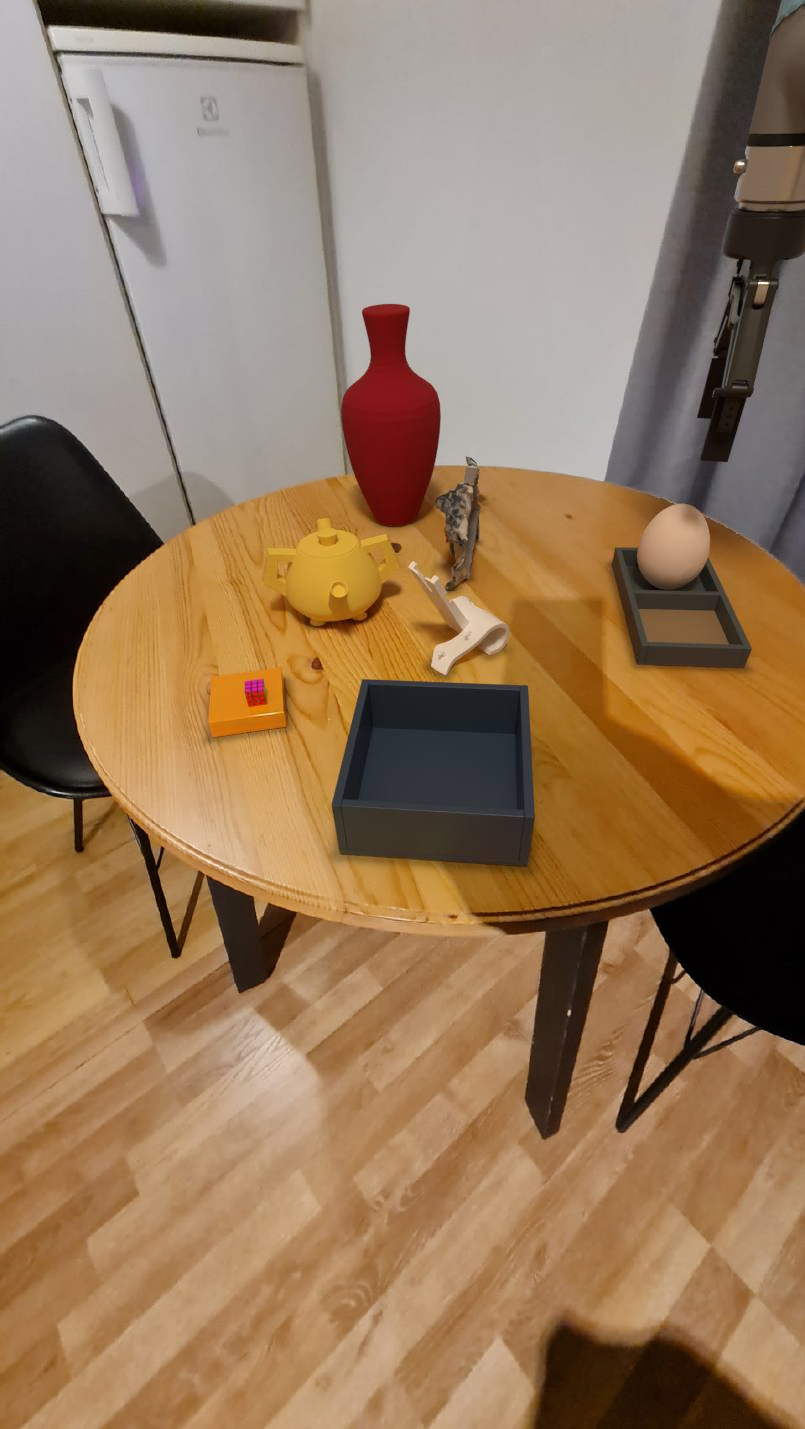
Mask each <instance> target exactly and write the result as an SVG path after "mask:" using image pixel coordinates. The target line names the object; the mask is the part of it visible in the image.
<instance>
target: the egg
mask: <svg viewBox="0 0 805 1429" xmlns="http://www.w3.org/2000/svg"><path fill="white" fill-rule="evenodd" d="M708 525H709V524H708V523H707V520H706V518H705V516H704V514H702V512H701V511H700V510H699V509H697V508H696V507H695V506H694V505H691V504H687V503H675V504H672V505H670V506H668V507H666V508H665V509H662V510H660V512H659V513H657V514H656V515H655V516H654V517H653V518H652V519H651V521H650V522H649V524H647V526H646V527H645V529H644V531H643V532H642V535H641V536H640V539H639V543H638V546H637V548H638V552H637V562H638V566H639V569H640V572H641V573H642V575H643V576H644V578H645V579H646V580H647V581H648V582H649V583H650V584H651V585H652V586H654V587H656V588H659V589H664V590H672V589H676V588H679V587H682V586H684V585H686V584H687V583H689V582H690V581H692V580H693V579H694V578H695V577H697V576H698V575H699V573H700V572H701V570H702V569H703V567H704V565H705V563H706V561H707V559H708V557H709V554H710V551H711V549H710V548H711V534H710V530H709V526H708Z"/></svg>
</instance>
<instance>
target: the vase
mask: <svg viewBox="0 0 805 1429" xmlns="http://www.w3.org/2000/svg"><path fill="white" fill-rule="evenodd" d="M410 314H411V309H410V307H409V306H408V305H406V304H400V303H381V304H380V303H379V304H373V305H369V306H366V307H363V308H362V309H361V315H362V320H363V323H364V327H365V331H366V335H367V341H368V345H369V352H370V359H369V364H368V367H367V369H366V370H365V372H364V374H362V376H360V377H359V379H357V380H356V381H355V382H354V383H352V384H351V385H350V386H349V387H348V388H347V389H346V391H345V393H344V394H343V396H342V402H341V407H340V415H341V417H340V418H341V426H342V434H343V439H344V443H345V447H346V451H347V455H348V458H349V459H348V460H349V462H350V466H351V469H352V472H353V475H354V478H355V480H356V483H357V486H358V487H359V489H360V492H361V494H362V497H363V498H364V500H365V502H366V505H367V506H368V508H369V510H370V512H371V514H372V516H373V518H374V519H375V520H376V522H377V523H379V524H381V525H383V526H386V527H402V526H407V525H410V524H411V523H413V522H414V521H415V520H416V519H417V518H418V515H419V512H420V510H421V508H422V505H423V502H424V500H425V498H426V495H427V492H428V489H429V486H430V483H431V480H432V477H433V473H434V469H435V465H436V460H437V455H438V449H439V444H440V443H439V442H440V434H441V419H442V415H441V414H442V413H441V402H440V401H441V400H440V398H439V394H438V392H437V390H436V388H435V387H434V386H433V384H432V383H430V382H429V381H427V380H426V379H424V378H423V377H422V376H420V375H419V374H417V373H416V372H415V371H414V370H413V369H412V367H410V365H409V363H408V361H407V355H406V345H407V344H406V342H407V335H408V326H409V321H410Z"/></svg>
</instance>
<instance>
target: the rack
mask: <svg viewBox="0 0 805 1429" xmlns="http://www.w3.org/2000/svg"><path fill="white" fill-rule="evenodd" d="M637 552H638V547H635V546H634V547H631V546H630V547H629V546H626V547H625V546H620V547H619V546H617V547H615V548H614V552H613V558H612V562H611V567H612V572H613V575H614V579H615V583H616V587H617V590H618V595H619V598H620V602H621V607H622V610H623V615H624V618H625V621H626V622H625V624H626V628H627V630H628V635H629V638H630V644H631V647H632V651H633V654H634V658H635V662H636V665H638V666H668V667H697V668H700V667H701V668H722V669H723V668H727V669H745V668H746V666H747V663H748V660H749V658H750V655H751V653H752V650H753V647H752V646H751V643H750V642H749V639H748V637H747V635H746V633H745V630H744V629H743V627H742V625H741V622H740V621H739V618H738V616H737V614H736V612H735V609H734V607H733V605H732V604H731V601H730V599H729V597H728V595H727V593H726V592H725V589H724V587H723V584H722V583H721V581H720V579H719V576H718V574H717V572H716V570H715V568H714V565H713V563H712V561H711V560H710V558H709V556H708V559H707V561H706V563H705V565H704V567H703V569H702V570H701V572H700V573H699V575H698V576H697V577H695V578H694V579H693V580H692V581H690V582H689V583H687V584H686V585H684V586H682V587H679V588H676V589H672V590H664V589H659V588H656V587H654V586H652V585H651V584H650V583H649V582H648V581H647V580H646V579H645V578H644V576H643V575H642V573H641V572H640V569H639V566H638V562H637Z"/></svg>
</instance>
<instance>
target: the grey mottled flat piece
mask: <svg viewBox="0 0 805 1429" xmlns="http://www.w3.org/2000/svg"><path fill="white" fill-rule="evenodd" d="M465 462H466V464H467V466H466V467H465V471H464V476H463V482H459V483H457V484H456V486H455V488H453V489H449V490H448V491H447V492H445V493H442V494H441V495H439V496H437V497H436V498H435V500H434V502H435V506H436V508H437V510H438V509H439V511H440V512H442V513H443V514H444V515H445V520H444V522H445V526H444V529H443V530H444V531H443V532H444V536H445V538H446V539H445V543H448V549H449V555H450V557H454V558H455V559H454V560H455V563H454V564H453V565H452V566H451V568H450V570H451V576H450V580H449V581H448V582H447V583H446V584H445V587H444V588H445V590H446V591H450V590H453V589H455V588H456V587H457V586H458V585H459V584H461V582H463V581H464V580H467V579H470V576H471V565H472V563H473V562H472V561H473V555H474V550H475V544H476V542H477V541H479V540H480V514H481V509H482V507H481V505H480V504H479V498H480V492H481V490H480V488H479V486H478V484H479V478H480V475H481V473H480V467H478V463H477V462H476V460H475V459H473V458H472V457H470V456H465Z"/></svg>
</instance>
